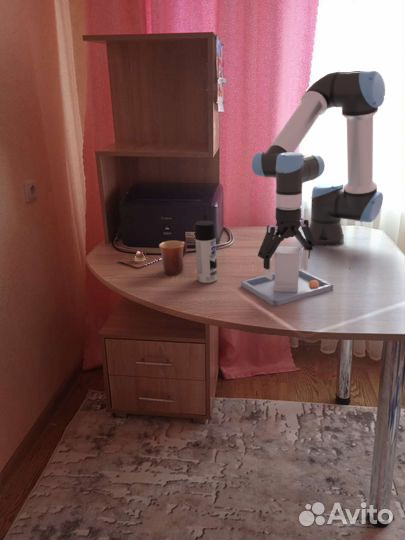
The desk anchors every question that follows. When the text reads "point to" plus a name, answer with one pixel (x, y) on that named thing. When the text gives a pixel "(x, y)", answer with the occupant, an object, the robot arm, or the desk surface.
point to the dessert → (141, 257)
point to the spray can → (206, 251)
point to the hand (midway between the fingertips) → (286, 273)
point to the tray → (266, 292)
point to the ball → (313, 284)
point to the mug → (173, 256)
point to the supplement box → (286, 269)
